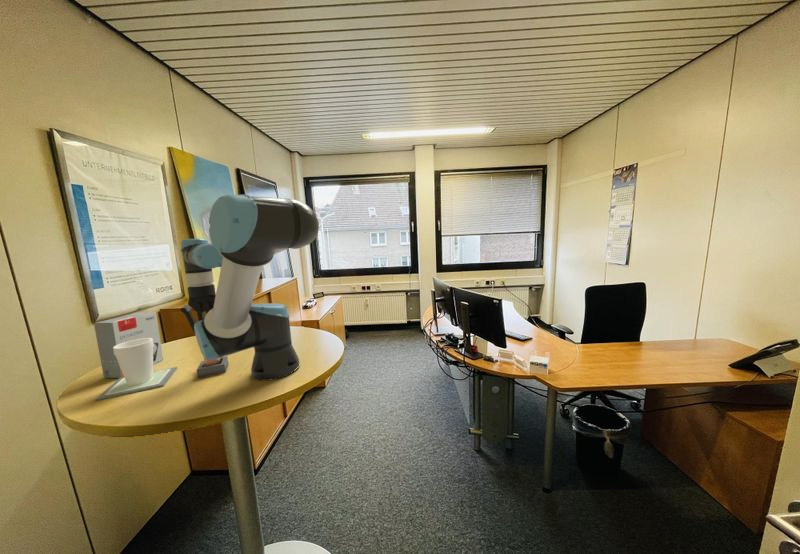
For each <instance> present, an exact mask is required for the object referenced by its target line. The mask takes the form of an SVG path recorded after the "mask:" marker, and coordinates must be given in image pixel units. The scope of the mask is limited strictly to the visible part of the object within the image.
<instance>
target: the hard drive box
mask: <svg viewBox="0 0 800 554" xmlns="http://www.w3.org/2000/svg"><path fill="white" fill-rule="evenodd" d="M93 325H94V326H93V327H94V331H95V337H96V343H97V348H98V353H99V358H100V362H101V368H102V369H101V370H102V375H103V378H106V379H107V378H109V379H119V378H122V377H124V375H123V373H122V370H121V368H120V365H119V363H118V360H117V358H116V355H114V350H113V347H114V346H116V345H118V344H121V343H124V342H127V341H132V340H136V339H143V338H152V339H153V344H154V347H153V365H155V364H157V363H159V362H160V363H161V362H162V361H164V358H163V357H164V355H163V350H162V343H161V336H160V329H159V323H158V317H157V312H156V311H150V312H149V311H147V312H145V311H143V312H140V311H139V312H136V313H132V314H128V315H123V316H118V317H115V318H114V317H113V318H110V319H107V320H106V319H105V320H102V321H97V322H95V323H94V324H93Z"/></svg>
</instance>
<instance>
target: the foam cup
mask: <svg viewBox="0 0 800 554" xmlns="http://www.w3.org/2000/svg"><path fill="white" fill-rule="evenodd" d="M153 347H154V344H153V339H152V338H143V339H136V340H132V341H127V342H124V343H121V344H118V345H116V346H114V347H113V350H114V355H116V358H117V360H118V363H119V365H120V368H121V370H122V373H123V375H124V378H125V380H126V383H127V385H129V386H133V385H138V384H142V383H145V382H147V381H150V380H151V379H153V371H154V364H153Z"/></svg>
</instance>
